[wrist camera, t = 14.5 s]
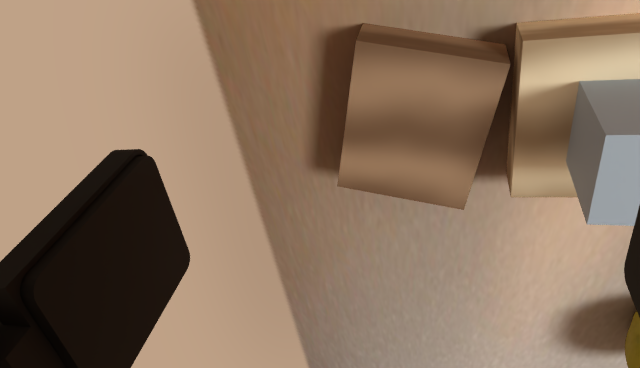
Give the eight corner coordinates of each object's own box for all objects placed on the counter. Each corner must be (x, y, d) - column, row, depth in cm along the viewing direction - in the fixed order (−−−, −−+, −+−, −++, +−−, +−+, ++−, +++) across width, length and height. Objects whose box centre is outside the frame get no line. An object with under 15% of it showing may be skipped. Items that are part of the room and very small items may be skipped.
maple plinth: (515, 20, 35) (523, 41, 32) (719, 4, 32) (750, 24, 29) (505, 168, 41) (510, 197, 38) (673, 165, 38) (694, 196, 35)
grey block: (579, 81, 32) (605, 135, 27) (687, 77, 31) (739, 134, 25) (565, 161, 36) (587, 224, 30) (663, 161, 34) (704, 227, 29)
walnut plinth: (363, 21, 37) (355, 40, 34) (504, 42, 36) (510, 64, 32) (345, 159, 44) (337, 186, 41) (462, 180, 43) (463, 209, 40)
